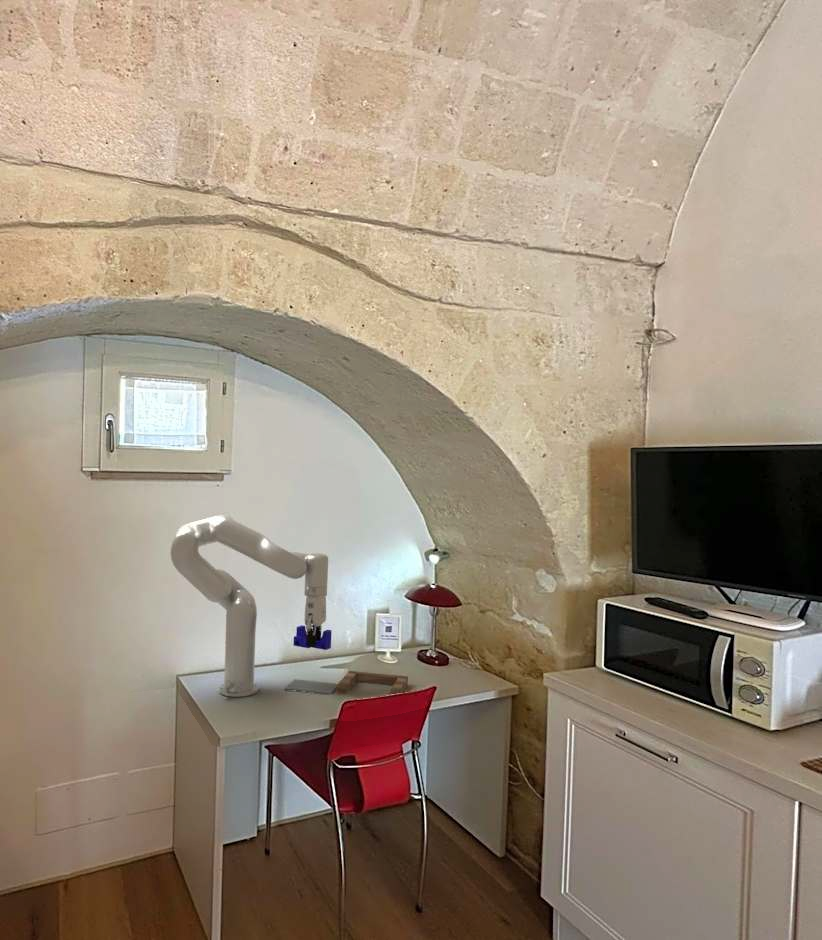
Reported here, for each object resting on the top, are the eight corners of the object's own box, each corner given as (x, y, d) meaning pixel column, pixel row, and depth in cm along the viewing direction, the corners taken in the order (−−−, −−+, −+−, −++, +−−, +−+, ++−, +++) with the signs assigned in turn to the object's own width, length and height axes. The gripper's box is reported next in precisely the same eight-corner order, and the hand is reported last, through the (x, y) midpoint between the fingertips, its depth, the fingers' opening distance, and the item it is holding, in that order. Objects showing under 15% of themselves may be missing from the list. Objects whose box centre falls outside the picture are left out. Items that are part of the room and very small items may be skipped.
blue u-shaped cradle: (293, 645, 246) (294, 627, 246) (300, 642, 250) (301, 625, 250) (323, 651, 241) (324, 633, 241) (330, 648, 245) (331, 630, 245)
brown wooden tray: (399, 699, 238) (399, 690, 238) (336, 693, 241) (337, 684, 241) (407, 684, 253) (407, 676, 253) (349, 679, 257) (349, 670, 256)
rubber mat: (330, 694, 240) (331, 693, 240) (284, 690, 242) (284, 688, 242) (339, 685, 249) (339, 683, 249) (294, 681, 252) (294, 679, 252)
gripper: (319, 596, 236) (316, 652, 236) (333, 587, 253) (331, 639, 253) (296, 594, 237) (294, 650, 238) (312, 585, 254) (310, 637, 254)
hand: (313, 643), depth 245 cm, fingers closed on blue u-shaped cradle, 4 cm apart
